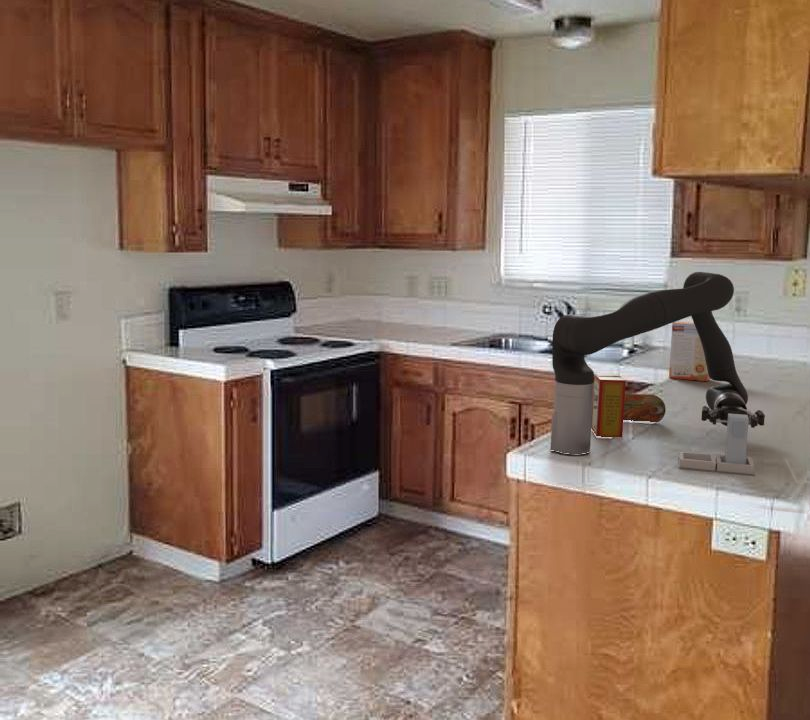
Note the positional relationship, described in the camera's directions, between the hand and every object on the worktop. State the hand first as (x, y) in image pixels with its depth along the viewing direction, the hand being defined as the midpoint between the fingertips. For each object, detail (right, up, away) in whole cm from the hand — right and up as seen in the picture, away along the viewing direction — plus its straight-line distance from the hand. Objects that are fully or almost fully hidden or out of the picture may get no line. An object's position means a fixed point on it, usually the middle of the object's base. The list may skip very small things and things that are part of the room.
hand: (734, 421), depth 205 cm
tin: (-12, -3, +41) cm, 43 cm away
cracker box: (+28, +7, +117) cm, 120 cm away
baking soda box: (-24, -5, +25) cm, 36 cm away
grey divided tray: (-7, -11, -8) cm, 15 cm away
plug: (-3, -10, -9) cm, 14 cm away
